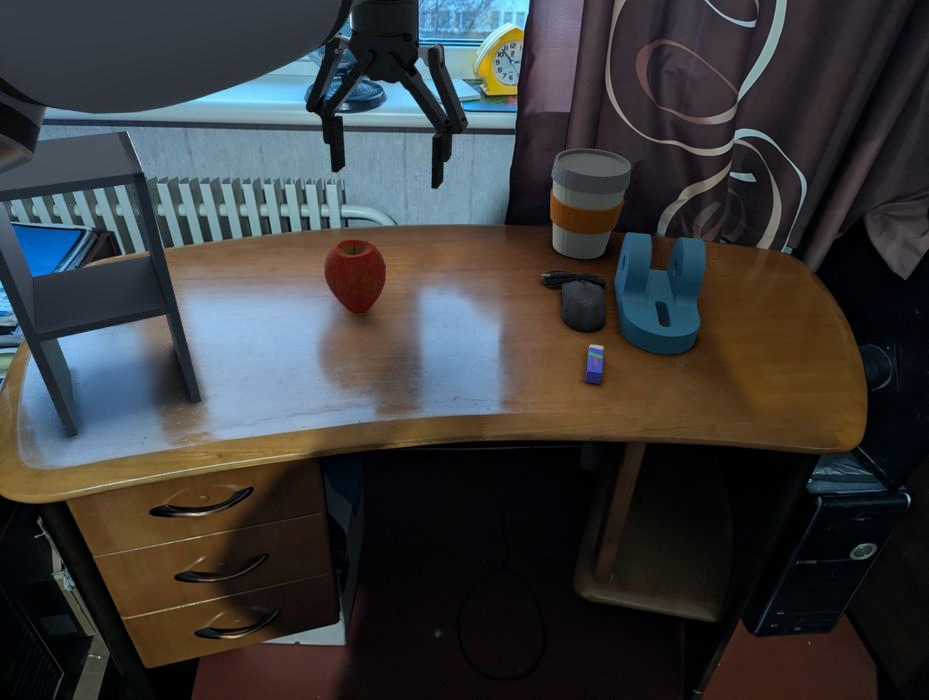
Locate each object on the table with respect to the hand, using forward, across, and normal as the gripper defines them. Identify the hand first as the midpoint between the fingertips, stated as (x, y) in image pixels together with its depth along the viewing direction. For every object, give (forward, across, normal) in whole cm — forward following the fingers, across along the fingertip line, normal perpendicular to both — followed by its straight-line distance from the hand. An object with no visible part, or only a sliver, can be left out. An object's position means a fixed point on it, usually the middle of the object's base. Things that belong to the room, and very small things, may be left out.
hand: (387, 177), depth 85 cm
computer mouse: (+19, -26, -9) cm, 34 cm away
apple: (+19, +3, +4) cm, 20 cm away
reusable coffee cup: (+19, -24, -28) cm, 41 cm away
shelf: (+19, +22, +28) cm, 41 cm away
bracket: (+19, -38, -9) cm, 43 cm away
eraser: (+19, -31, +6) cm, 37 cm away
